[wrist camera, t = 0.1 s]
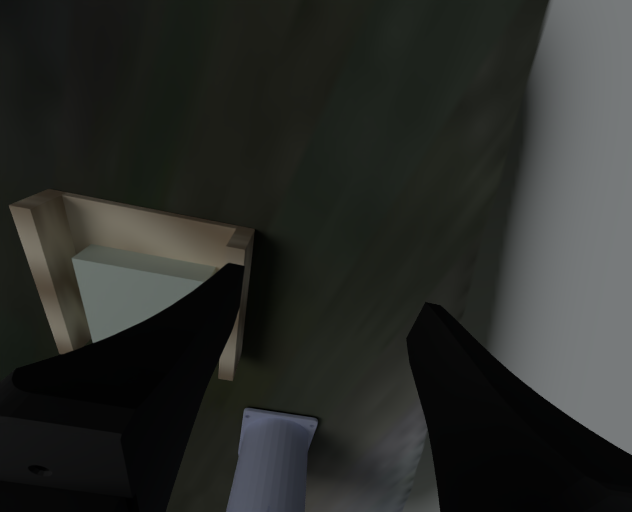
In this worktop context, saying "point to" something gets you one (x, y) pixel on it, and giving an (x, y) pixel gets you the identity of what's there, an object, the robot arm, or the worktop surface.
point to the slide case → (127, 234)
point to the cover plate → (130, 286)
